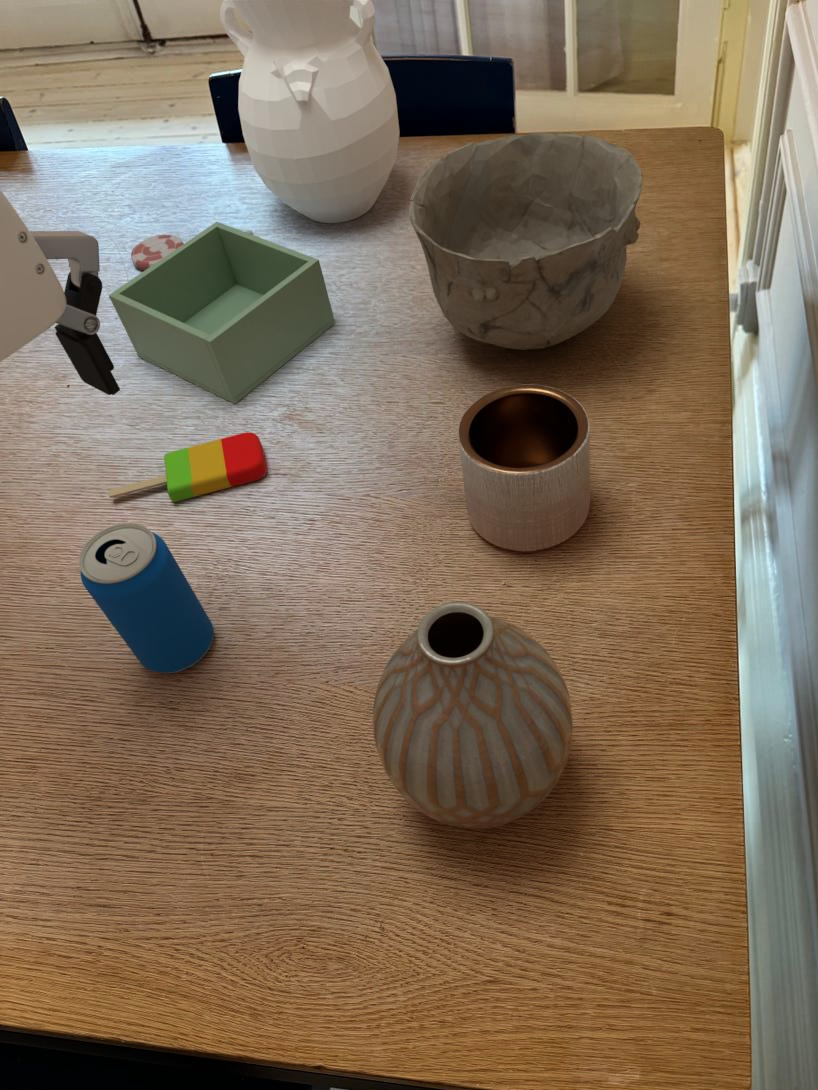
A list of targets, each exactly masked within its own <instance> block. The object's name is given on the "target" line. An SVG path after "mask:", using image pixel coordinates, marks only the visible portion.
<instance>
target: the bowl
mask: <svg viewBox="0 0 818 1090" xmlns="http://www.w3.org/2000/svg"><path fill="white" fill-rule="evenodd" d="M643 178H644V177H643V172H642V169H641V167H640V165H639V163H638V161H637V160H636V159H635V157H634V155H633V154H632V153H631V152H630V151H629V150H627V149H626V148H624V147H623V146H618V145H616V144H614V143H611V142H609V141H607V140H604V139H603V138H599V137H596V136H594V135H591V134H588V133H587V134H586V133H585V134H584V135H583V134H577V133H573V132H572V133H571V132H570V133H569V132H560V133H554V132H553V133H552V132H535V133H530V134H513V135H507V136H503V137H498V138H496V139H495V138H494V139H488V140H484V141H481V142H478V143H476V142H472V143H468V144H466V145H463V146H461V147H458V148H455V149H453V150H452V151H449V153H448V154H446V155H445V156H444V157H443V156H441V157H440V158H438V159H437V160H436V161H434V162H432V163H431V164H430V165H429V168H426V169H425V171H424V172H423V173H422V174H421V175H420V177H419V178H418V179H417V181H416V184H415V187H414V189H412V193H411V195H410V198H409V201H410V202H409V206H408V217H409V221H410V223H411V225H412V227H413V230H414V232H415V234H416V236H417V238H418V240H419V243H420V245H421V248H422V251H423V254H424V257H425V261H426V266H427V269H428V275H429V279H430V282H431V286H432V291H433V294H434V297H435V300H436V302H437V304H438V306H439V308H440V311H441V312H442V314H443V316H444V317H445V319H446V320H447V321H448V323H449V324H450V325H451V326H452V327H453V328H454V329H455V330H457V331H459V332H460V333H461V334H463V335H465V336H467V337H469V338H470V339H473V340H475V341H479V342H482V343H486V344H491V345H493V346H498V347H502V348H505V349H506V348H507V349H512V350H521V351H524V350H538V349H539V350H540V349H544V348H548V347H551V346H554V345H558V344H560V343H562V342H564V341H566V340H568V339H570V338H572V337H574V336H577V335H578V334H580V333H582V332H583V331H584V330H586V329H588V328H589V327H590V326H591V325H593V324H594V323H595V322H597V321H598V320H599V319H600V318H601V317H602V316H603V315H604V314H606V313H607V311H608V310H609V309H610V307H611V306H612V304H613V303H614V301H615V299H616V296H617V294H618V292H619V290H620V288H621V285H622V282H623V278H624V274H625V271H626V264H627V260H628V259H627V246H629V245H633V244H636V243H637V241H638V240H639V235H640V234H639V232H638V231H639V229H640V228H641V223H642V222H641V221H640V220H639V219H638V217H637V216H636V207H637V204H638V201H639V199H640V197H641V194H642V191H643V189H642V187H643V180H644V179H643Z"/></svg>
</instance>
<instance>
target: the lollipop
mask: <svg viewBox="0 0 818 1090" xmlns="http://www.w3.org/2000/svg"><path fill="white" fill-rule="evenodd" d="M245 232H246V233H249V234H251V235H254V231H253V230H247V231H245ZM183 244H185V242H184V241H183V240H182V239H181V238H180V237H178V236H177V235H172V234H160V235H154V236H151V237H148V238H145V239H143V240H142V241H140V242H139V243H137V244H136V245H135V246H134V247H133V248H132V250H131V252H130V260H131V262H132V263H133V265H134V266H135V267H136V268H137V269H139V270H142V271H145V270H146V269H148V268H149V267H151V266H152V265H154V264H155V263H157V262H158V261H160V260H161V259H163V258H164V257H165V256H167V255H168V254H170V253H171V252H173V251H174V250H176V249H177V248H179V247H180V246H182V245H183Z"/></svg>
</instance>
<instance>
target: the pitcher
mask: <svg viewBox="0 0 818 1090" xmlns="http://www.w3.org/2000/svg"><path fill="white" fill-rule="evenodd" d="M352 6H353V7H354V8H355V9H356V10H357V11H358V12H359V14H360V16H361V19H362V24H361V26H362V27H360V25H358V24H357V22H355V21H354V19H352V17H351V7H352ZM234 9H237V12H238V13H239V14H240V16H241V17H242V19H243V20H244V22H245V23H246V24H247V27H248V28H249V30H250V31H248V30H245V29H244V28H243V26H242V25H241V24H240V23H239V22H238V20H237V17H236V14H235V11H234ZM219 20H220V24H221V26H222V28H223V29H224V31H225V33H226V35H227V36H228V37H229V38H230V41H232V42H233V43H234V44H235V46H236V47H237V48H238V50H239V51H240V53H241V54H242V56H243V63H242V68H241V72H240V77H239V79H238V97H237V98H238V100H237V101H238V102H237V104H238V105H237V106H238V107H237V110H238V115H239V120H240V125H241V126H240V127H241V131H242V136H243V140H244V144H245V146H246V149H247V152H248V155H249V158H250V161H251V163H252V167H253V168H254V171H255V173H256V174H257V175H258V177H259V178H260V179H261V181H262V183H263V184H264V185H265V187H266V188H267V189H268V190H269V191H270V192H271V193H273V195H275V196H276V197H277V198H278V199H279V200H281V201H282V202H283V203H284V204H286V206H288V207H290V208H291V209H293V210H295V211H296V212H297V213H300V214H302V215H303V216H305V217H306V218H308V219H310V220H311V221H314V222H317V223H322V224H339V223H345V222H350V221H353V220H356V219H357V218H359V217H362V216H364V215H365V214H366V213H367V212H369V211H370V210H371V209H372V208H373V206H374V205H375V204H376V202H377V200H378V198H379V197H380V195H381V192H382V191H383V190H384V187H385V185H386V184H387V181H388V179H389V177H390V174H391V172H392V170H393V168H394V165H395V163H396V159H397V157H398V149H399V142H400V141H399V140H400V133H401V132H400V125H399V124H400V123H399V117H398V116H399V113H398V104H397V95H396V91H395V88H394V84H393V81H392V77H391V74H390V70H389V67H388V66H387V64H386V63H385V61H384V60H383V57H382V56H381V54H380V52H379V51H378V49H377V48H376V46H375V45H374V44H373V42H372V40H371V37H372V34H373V31H374V27H375V24H376V9H375V6H374V3H373V2H372V0H223V1H222V4H221V5H220V8H219Z"/></svg>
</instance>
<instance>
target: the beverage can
mask: <svg viewBox="0 0 818 1090" xmlns="http://www.w3.org/2000/svg"><path fill="white" fill-rule="evenodd" d="M78 567H79V570H80V579H81V582H82V586H84V588H85V589H86V591H87V592H88V593H89V595H90V597H91V598H92V599H93V600H94V602H95V603H96V604H97V606H98V607H99V609H100V610H101V611H102V613H103V614H104V615H105V617H106V618H107V620H108V621H109V622H110V623H111V625H112V626H113V628H114V629H115V630H116V632H117V633H118V634H119V636H120V637H121V638H122V640H123V641H124V643H125V644H126V645H127V647H128V648H129V649H130V651H131V652H132V653H133V655H134V656H135V658H136V659H137V660H138V662H139V663H140V664H141V666H142V667H144V668H145V669H147V670H149V671H150V672H153V673H158V674H173V673H177V672H181V671H183V670H186V669H188V668H190V667H192V666H194V665H195V664H196V663H198V662H200V660H201V659H202V658H203V657H204V656H205V655H206V654H207V653H208V651H209V650H210V648H211V646H212V644H213V640H214V635H215V632H214V631H215V630H214V626H213V623H212V621H211V619H210V617H209V615H208V613H207V612H206V610H205V609H204V607H203V606H202V603H201V602H200V600H199V598H198V596H197V595H196V594H195V591H194V590H193V587H192V586H191V585H190V583H189V581H188V579H187V577H186V576H185V574H184V572H183V570H182V569H181V568H180V565H179V564H178V562H177V561H176V558H175V557H174V555H173V553H172V552H171V550H170V548H169V546H168V545H167V543H166V541H165V540H164V539H163V538H162V537H161V536H159V535H158V534H156V533H155V532H153V531H152V530H151V529H149V528H148V527H147V526H145V525H142V524H140V523H135V522H123V523H122V522H121V523H117V524H113V525H109V526H107V527H106V528H105V527H104V528H103V529H101V530H100V531H98V532H96V533H95V534H93V536H92V537H90V538H89V539H88V540H87V541H86V542H85V544H84V545H83V546H82V548H81V550H80V552H79V554H78Z"/></svg>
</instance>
